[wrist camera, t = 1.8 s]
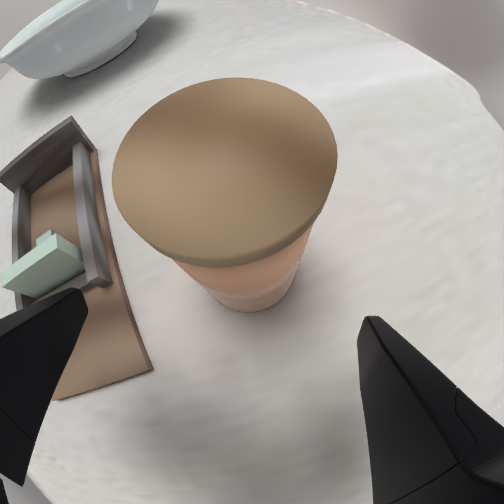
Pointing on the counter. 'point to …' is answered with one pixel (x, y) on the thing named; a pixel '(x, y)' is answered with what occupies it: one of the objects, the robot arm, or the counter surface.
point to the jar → (228, 184)
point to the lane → (93, 250)
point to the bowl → (76, 37)
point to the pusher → (44, 266)
